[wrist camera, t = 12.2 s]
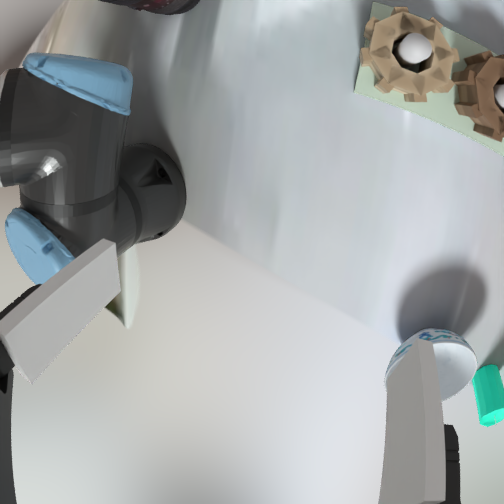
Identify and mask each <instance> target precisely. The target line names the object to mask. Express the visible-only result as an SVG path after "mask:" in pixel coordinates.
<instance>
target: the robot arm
mask: <svg viewBox="0 0 504 504" xmlns="http://www.w3.org/2000/svg"><path fill="white" fill-rule="evenodd" d="M22 66H24V67H23V68H16V69H8V70H6V71H5V72H4V73H3V74H2V75H1V76H0V187H7V186H14V185H19V188H20V201H21V205H20V207H19V208H15V209H13V210H12V212H11V213H10V214H9V215H8V216H7V219H6V222H5V231H6V236H7V240H8V243H9V245H10V248H11V250H12V252H13V254H14V256H15V258H16V259H17V262H18V263H19V265H20V266H21V268H22V269H23V271H24V272H25V273H26V274H27V276H28V277H29V278H30V279H31V280H32V281H33V282H34V283H35V284H36V285H35V286H33V287H31V288H29V289H28V290H26V291H25V292H24V293H23V294H22V295H21V296H20V297H18V298H17V299H16V300H14V302H13V303H11V304H10V305H9V306H7V307H6V308H5V309H4V310H3V311H2V312H0V504H17V503H16V496H15V488H14V479H13V469H12V451H11V404H12V388H13V376H14V375H13V370H12V368H13V367H14V366H16V368H17V370H18V371H19V373H20V374H21V375H22V376H23V377H24V378H25V379H26V380H28V381H29V382H30V383H31V384H33V382H34V381H35V380H36V379H37V378H38V377H39V376H40V375H41V373H42V372H43V371H44V370H45V369H46V368H47V367H48V366H49V365H50V363H51V362H52V361H53V360H54V359H55V358H56V357H57V356H58V355H59V354H60V353H61V352H62V350H63V349H64V348H65V347H66V346H67V345H68V344H69V343H70V342H71V341H72V340H73V339H74V338H75V337H76V336H77V335H78V334H79V333H80V332H81V330H82V329H83V328H84V327H85V326H86V325H87V324H88V323H89V322H90V321H91V320H92V319H93V318H94V317H95V316H96V315H97V314H98V313H99V312H100V311H101V310H102V309H103V308H104V307H105V306H106V305H107V304H108V303H109V302H110V301H111V300H112V299H113V298H114V297H115V296H116V295H117V294H118V293H119V292H120V291H121V289H120V281H119V272H118V263H117V258H118V257H119V256H120V255H121V254H123V253H124V252H125V251H126V250H128V249H129V248H130V247H131V246H133V245H134V244H137V243H142V242H145V241H150V240H154V239H157V238H160V237H162V236H164V235H165V234H167V233H168V232H169V231H170V230H172V229H173V228H174V227H175V226H176V225H177V224H178V223H179V221H180V220H181V218H182V216H183V213H184V210H185V204H186V191H185V186H184V182H183V179H182V176H181V174H180V172H179V170H178V168H177V166H176V165H175V163H174V162H173V161H172V159H171V158H170V157H169V156H168V155H167V154H166V153H164V152H163V151H162V150H160V149H159V148H157V147H154V146H152V145H149V144H141V143H140V144H133V145H130V146H127V147H124V148H123V145H124V138H125V131H126V125H127V119H128V115H130V112H131V109H130V100H131V93H132V87H133V77H132V74H131V72H130V71H129V70H128V69H127V68H126V67H124V66H122V65H120V64H116V63H112V62H108V61H103V60H98V59H92V58H86V57H80V56H73V55H64V54H50V53H30V54H28V55H27V56H26V58H25V60H24V61H23V64H22ZM458 451H459V444H458V436H457V434H456V431H455V429H454V427H453V425H446V424H444V423H443V411H442V402H441V393H440V386H439V378H438V372H437V365H436V359H435V354H434V348H433V343H432V342H431V341H427V340H423V339H419V338H416V340H415V341H414V343H413V344H412V346H411V347H410V349H409V350H408V352H407V353H406V354H405V356H404V357H403V359H402V360H401V361H400V363H399V364H398V366H397V367H396V368H395V370H394V371H393V372H392V374H391V375H390V376H389V378H388V379H387V412H386V436H385V450H384V461H383V472H382V481H381V489H380V496H379V504H461V501H460V463H459V460H460V459H459V453H458Z"/></svg>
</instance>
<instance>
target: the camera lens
mask: <svg viewBox="0 0 504 504" xmlns="http://www.w3.org/2000/svg"><path fill="white" fill-rule="evenodd" d="M100 1H103V2H108V3H113V4H117V5H125V6H128V7H130V8H132V9H135V10H139V11H141V10H142V9H143V10H146V11H149V12H152V13H157V14H165V15H173V14H181V13H184V12H187V11H189V10H190V9H192V8H193V7H194V6H195V5H196V4H197V3H198V2H199V1H200V0H100Z"/></svg>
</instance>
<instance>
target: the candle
mask: <svg viewBox="0 0 504 504" xmlns="http://www.w3.org/2000/svg"><path fill="white" fill-rule="evenodd" d="M472 382H473V387H474V392H475V397H476V402H477V408H478V414H479V421H480V424H481V425H484V426H487V427H488V426H491V425H494V424H496V423H498V422H500V421H502V420H503V419H504V387H503V383H502V380H501V376H500V373H499V369H498V367H497V366H496V365H492V364H490V365H486V366H484V367H482V368H480V369H479V370H477V371H476V373H475V375H474V377H473V379H472Z"/></svg>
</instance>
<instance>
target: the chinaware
mask: <svg viewBox="0 0 504 504" xmlns="http://www.w3.org/2000/svg"><path fill="white" fill-rule="evenodd" d="M416 338H419V339H423V340H427V341H431V342H432V343H433V348H434V354H435V359H436V365H437V372H438V378H439V386H440V393H441V402H442V401H444V400H447V399H449V398H451V397H453V396H455V395H456V394H458V393H459V392H460V391H462V390H463V389H464V388H465V387H466V386H467V385H468V384H469V383H470V382H471V380H472V379H473V377H474V375H475V373H476V370H477V358H476V355H475V353H474V351H473V350H472V348H471V347H470V345H469V344H468V343H467V342H466V341H465V340H464V339H463V338H462V337H461V336H459V335H458V334H456V333H454V332H452V331H449V330H445V329H435V328H427V329H423V330H421V331H419V332H417V333H416V334H414V335H413V336H411V337H410V338H408V339H407V340H406V341H405V342H404V343H403V344H402V345H401V346H400V347H399V348H398V349H397V350H396V352H395V354H394V355H393V357H392V358H391V361H390V363H389V365H388V368H387V371H386V375H385V381H384V385H385V389H386V392H387V379H388V378H389V376H390V375H391V374H392V372H393V371H394V370H395V368H396V367H397V366H398V364H399V363H400V361H401V360H402V359H403V357H404V356H405V354H406V353H407V352H408V350H409V349H410V347H411V346H412V344H413V343H414V341H415V340H416Z"/></svg>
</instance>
